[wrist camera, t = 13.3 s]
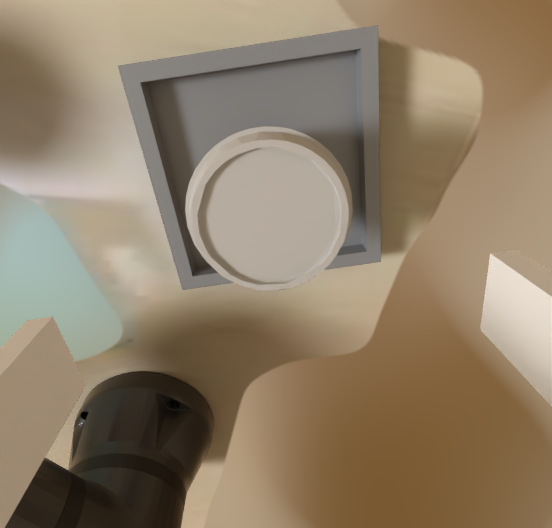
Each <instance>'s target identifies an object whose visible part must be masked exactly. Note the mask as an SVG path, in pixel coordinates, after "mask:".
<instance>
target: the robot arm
mask: <svg viewBox="0 0 552 528" xmlns="http://www.w3.org/2000/svg"><path fill="white" fill-rule="evenodd" d="M480 330H481V331H482V332H483V333H484V334H485V335H486V336H487V337H488V338H489V339H490V341H491V342H492V343H494V345H495V346H496V347H497V348H498V349H499V350H500V351H501V352H502V353H503V354H504V356H505V357H506V358H507V359H508V360H509V361H510V362H511V363H512V364H513V365H514V366H515V367H516V369H517V370H518V371H519V372H520V373H521V374H522V375H523V376H524V377H525V378H526V379H527V380H528V382H530V384H532V386H533V387H534V388H535V389H536V390H537V391H538V392H539V393H540V394H541V395H542V397H543V398H544V399H545V400H546V401H547V402H548V403H549V404H550V405H551V406H552V272H551V271H550V270H548V269H547V268H545V267H543V266H542V265H540V264H539V263H537V262H535V261H534V260H532V259H530V258H529V257H527V256H526V255H524V254H523V253H521V252H519V251H518V250H510V251H504V252H497V253H491V254H490V260H489V267H488V275H487V282H486V290H485V298H484V305H483V313H482V320H481V328H480ZM85 386H86V384H85V382H84V380H83V378H82V376H81V374H80V372H79V370H78V368H77V366H76V364H75V361H74V359H73V357H72V355H71V353H70V351H69V349H68V347H67V345H66V343H65V341H64V339H63V337H62V335H61V333H60V331H59V329H58V326H57V324H56V322H55V320H54V318H53V317H47V318H40V319H33V320H28V321H26V323H25V324H24V325H23V326H22V327H21V328H20V329H19V330H18V331H17V332H16V333H15V334H14V335H13V336H12V337H11V338H10V339H9V340H8V341H7V342H6V343H5V344H4V345H3V346H2V347H1V348H0V528H181V523H182V517H183V511H184V505H185V499H186V494H187V491H188V489H189V487H190V485H191V483H192V481H193V480H194V478H195V476H196V474H197V472H198V470H199V468H200V466H201V464H202V462H203V460H204V458H205V456H206V454H207V452H208V450H209V447H210V444H211V439H212V432H213V415H212V412H211V409H210V407H209V405H208V403H207V402H206V400H205V399H204V398H203V397H202V396H201V395H200V394H199V393H198V392H197V391H196V390H195V389H193V388H192V387H191V386H189V385H187V384H186V383H184V382H182V381H180V380H177V379H175V378H172V377H169V376H166V375H162V374H156V373H147V372H136V373H127V374H122V375H118V376H115V377H112V378H109V379H107V380H105V381H103V382H102V383H100V384H99V385H97V386H96V387H95V388H94V389H93V390H92V391H91V392H90V393H89V395H88V396H87V398H86V399H85V401H84V403H83V405H82V407H81V409H80V410H79V412H78V415H77V417H76V420H75V425H74V432H73V439H72V447H71V455H70V462H69V470H66V469H65V468H63V467H61V466H59V465H57V464H56V463H54V462H52V461H50V460H49V459H47V458H45V456H46V455H47V453H48V451H49V449H50V448H51V446H52V444H53V442H54V441H55V439H56V437H57V435H58V434H59V432H60V430H61V428H62V427H63V425H64V423H65V421H66V420H67V418H68V416H69V414H70V413H71V411H72V409H73V407H74V406H75V404H76V402H77V400H78V399H79V397H80V395H81V393H82V392H83V390H84V388H85Z"/></svg>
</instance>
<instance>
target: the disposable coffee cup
mask: <svg viewBox="0 0 552 528" xmlns="http://www.w3.org/2000/svg"><path fill="white" fill-rule="evenodd" d="M352 212H353V208H352V193H351V189H350V186H349V182H348V179H347V176H346V174H345V173H344V171H343V169H342V167H341V165H340V163H339V162H338V161H337V160H336V158H335V157H334V156H333V154H332V153H331V152H330V151H329V150H328V149H327V148H325V147H324V146H323V145H322V144H321V143H319V142H318V141H317V140H315V139H313V138H311V137H310V136H308V135H306V134H303V133H301V132H298V131H295V130H293V129H289V128H283V127H271V126H263V127H257V128H250V129H247V130H243V131H240V132H237V133H235V134H233V135H231V136H229V137H227V138H226V139H224V140H222V141H221V142H219V143H218V144H216V145H215V146H214V147H213V148H212V149H211V150H210V151H209V152H208V153H207V154H206V155H205V156H204V157H203V159H202V160H201V162H200V163H199V164H198V166H197V167H196V169H195V171H194V173H193V175H192V177H191V180H190V182H189V186H188V190H187V194H186V205H185V213H186V220H187V227H188V229H189V232H190V235H191V237H192V240H193V242H194V245H195V246H196V248H197V249H198V251H199V252H200V254H201V255H202V257H203V258H204V259H205V260H206V262H207V263H208V264H210V265H211V266H212V267H213V268H214V269H215V270H216V271H217V272H218V273H219V274H220V275H221V276H223V277H224V278H226V279H228V280H230V281H232V282H234V283H236V284H238V285H240V286H243V287H247V288H251V289H255V290H264V291H275V290H282V289H287V288H292V287H296V286H298V285H300V284H303V283H305V282H307V281H309V280H311V279H312V278H314V277H315V276H317V275H318V274H320V273H321V272H322V271H323V270H324V269H325V268H326V267H327V266H328V265H329V264H330V263H331V262H332V261H333V259H334V258H335V257H336V255H337V254H338V252H339V250H340V248H341V246H342V245H343V243H344V242H345V239H346V236H347V234H348V231H349V228H350V224H351V218H352Z"/></svg>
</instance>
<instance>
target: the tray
mask: <svg viewBox="0 0 552 528" xmlns="http://www.w3.org/2000/svg"><path fill="white" fill-rule="evenodd" d="M118 68H119V72H120V75H121V78H122V82H123V85H124V89H125V92H126V96H127V99H128V103H129V106H130V110H131V113H132V116H133V120H134V123H135V127H136V130H137V134H138V137H139V141H140V144H141V148H142V151H143V155H144V158H145V161H146V165H147V168H148V172H149V175H150V179H151V182H152V186H153V189H154V193H155V196H156V200H157V203H158V206H159V210H160V213H161V217H162V220H163V224H164V227H165V231H166V234H167V238H168V241H169V244H170V248H171V251H172V255H173V258H174V262H175V265H176V269H177V272H178V276H179V279H180V283H181V286H182V289H183V290H186V289H193V288H200V287H207V286H214V285H221V284H228V283H234V282H232V281H230V280H228V279H226V278H224V277H223V276H221V275H220V274H219V273H218V272H217V271H216V270H215V269H214V268H213V267H212V266H211V265H210V264H208V263H207V262H206V260H205V259H204V258H203V257H202V255H201V254H200V252H199V251H198V249H197V248H196V246H195V245H194V242H193V240H192V237H191V235H190V232H189V229H188V227H187V220H186V213H185V205H186V194H187V190H188V186H189V182H190V180H191V177H192V175H193V173H194V171H195V169H196V167H197V166H198V164H199V163H200V162H201V160H202V159H203V157H204V156H205V155H206V154H207V153H208V152H209V151H210V150H211V149H212V148H213V147H214V146H215V145H216V144H218V143H219V142H221V141H222V140H224V139H226V138H227V137H229V136H231V135H233V134H235V133H237V132H240V131H243V130H247V129H250V128H257V127H263V126H271V127H283V128H289V129H293V130H295V131H298V132H301V133H303V134H306V135H308V136H310V137H311V138H313V139H315V140H317V141H318V142H319V143H321V144H322V145H323V146H324V147H325V148H327V149H328V150H329V151H330V152H331V153H332V154H333V156H334V157H335V158H336V160H337V161H338V162H339V163H340V165H341V167H342V169H343V171H344V173H345V174H346V176H347V179H348V182H349V186H350V189H351V193H352V208H353V212H352V218H351V224H350V228H349V231H348V234H347V236H346V239H345V242H344V243H343V245H342V246H341V248H340V250H339V252H338V254H337V255H336V257H335V258H334V259H333V261H332V262H331V263H330V264H329V265H328V266H327V267H326V268H325V269H324V270H326V269H333V268H340V267H347V266H355V265H362V264H369V263H376V262H381V230H380V144H379V58H378V25H377V26H371V27H364V28H358V29H351V30H345V31H339V32H332V33H326V34H319V35H313V36H306V37H300V38H294V39H287V40H281V41H274V42H268V43H261V44H255V45H249V46H242V47H236V48H229V49H223V50H216V51H210V52H203V53H197V54H191V55H184V56H178V57H171V58H165V59H158V60H152V61H146V62H139V63H133V64H126V65H120V66H118Z"/></svg>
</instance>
